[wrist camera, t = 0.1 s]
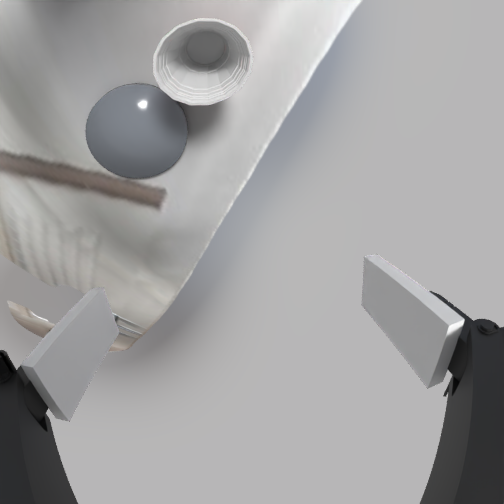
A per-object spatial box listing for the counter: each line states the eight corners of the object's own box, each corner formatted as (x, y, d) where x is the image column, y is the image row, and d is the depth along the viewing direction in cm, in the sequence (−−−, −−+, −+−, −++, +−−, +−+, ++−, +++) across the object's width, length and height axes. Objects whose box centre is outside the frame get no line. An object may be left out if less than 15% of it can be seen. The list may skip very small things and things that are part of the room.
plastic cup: (247, 75, 34) (257, 100, 27) (176, 85, 34) (162, 114, 27) (242, 11, 26) (251, 12, 18) (164, 22, 25) (143, 30, 18)
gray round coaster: (71, 133, 36) (68, 137, 35) (138, 61, 30) (136, 63, 29) (137, 188, 49) (136, 193, 48) (209, 135, 42) (209, 140, 41)
